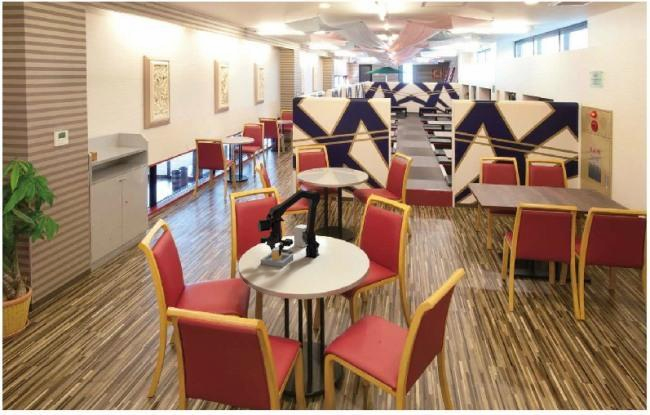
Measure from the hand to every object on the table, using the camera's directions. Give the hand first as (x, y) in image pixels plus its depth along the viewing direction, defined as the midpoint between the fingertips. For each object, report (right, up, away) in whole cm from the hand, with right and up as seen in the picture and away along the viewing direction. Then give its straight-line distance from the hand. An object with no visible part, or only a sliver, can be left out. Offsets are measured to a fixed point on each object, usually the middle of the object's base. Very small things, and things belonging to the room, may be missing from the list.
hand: (276, 255), depth 300 cm
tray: (0, -4, +1) cm, 4 cm away
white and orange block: (0, -2, 0) cm, 2 cm away
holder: (+2, -1, +15) cm, 15 cm away
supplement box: (+13, +3, +30) cm, 33 cm away
